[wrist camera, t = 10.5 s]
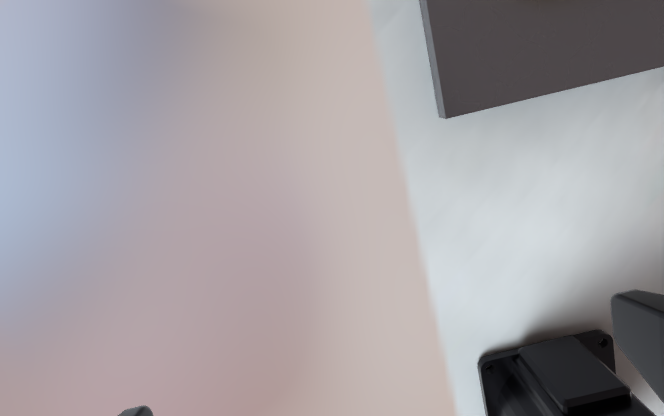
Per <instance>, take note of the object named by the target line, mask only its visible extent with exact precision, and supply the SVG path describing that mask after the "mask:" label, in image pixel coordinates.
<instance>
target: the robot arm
mask: <svg viewBox="0 0 664 416" xmlns="http://www.w3.org/2000/svg"><path fill="white" fill-rule="evenodd" d="M611 316H612V328H613V335H614V339H615V341H616V343H617V345H618V346H619V348H620V349H621V350H622V351H623V353H624V354H625V355H626V356H627V358H628V359H629V360H630V361H631V363H632V364H633V365H634V366H635V368H636V369H637V370H638V371H639V373H640V374H641V375H642V376H643V378H644V379H645V380H646V382H647V383H648V384H649V385H650V387H651V388H652V389H653V390H654V392H655V393H656V394H657V395H658V397H659V398H660V399H661V400H662V402H663V403H664V295H661V294H656V293H651V292H646V291H640V290H629V291H625V292H621V293H617V294H614V295H613V296H612V297H611ZM600 339H602V341H601V342H600V343H598V341H599V340H600ZM489 365H492V367H491V368H490V369H486V367H487V366H489ZM478 373H479V379H480V384H481V390H482V396H483V402H484V408H485V413H486V416H656V415H655V414H654V413H653V412H652V411H651V410H650V409H649V408H647V407H646V406H645V405H644V404H643V403H642V402H641V401H640V400H639V399H638V398H637V397H636V396H635V395H634V394H632V393H631V389H630V387H629V386H627V385H626V384H625V383H624V382H623V381H622V380H621V379H620V378H619V377H618V376H617V375H616V372H615V360H614V348H613V340H612V337H611V336H610V335H609V334H607V333H606V332H605V331H603V330H594V331H590V332H586V333H581V334H577V335H573V336H566V337H562V338H557V339H553V340H549V341H545V342H540V343H536V344H532V345H528V346H524V347H522V348H518V349H514V350H509V351H505V352H501V353H497V354H492V355H488V356H485V357H482V358H481V359H480V360H479V362H478ZM118 416H153V413H152V411H151V410H150V408H149V407H147V406H139V407H135V408H131V409H127V410H125V411H123V412H122V413H121V414H119V415H118Z"/></svg>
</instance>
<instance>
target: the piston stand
mask: <svg viewBox="0 0 664 416" xmlns="http://www.w3.org/2000/svg"><path fill="white" fill-rule="evenodd" d="M419 2H420V8H421V14H422V20H423V25H424V31H425V37H426V43H427V49H428V55H429V61H430V67H431V72H432V78H433V84H434V90H435V96H436V102H437V108H438V114H439V117H440V118H445V119H447V118H451V117H455V116H460V115H464V114H468V113H472V112H476V111H480V110H484V109H489V108H493V107H497V106H501V105H505V104H509V103H514V102H518V101H522V100H526V99H530V98H534V97H538V96H543V95H547V94H551V93H555V92H559V91H563V90H568V89H572V88H576V87H580V86H584V85H588V84H593V83H597V82H601V81H605V80H609V79H613V78H617V77H622V76H626V75H630V74H634V73H638V72H642V71H647V70H651V69H655V68H659V67H663V66H664V0H419Z"/></svg>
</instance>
